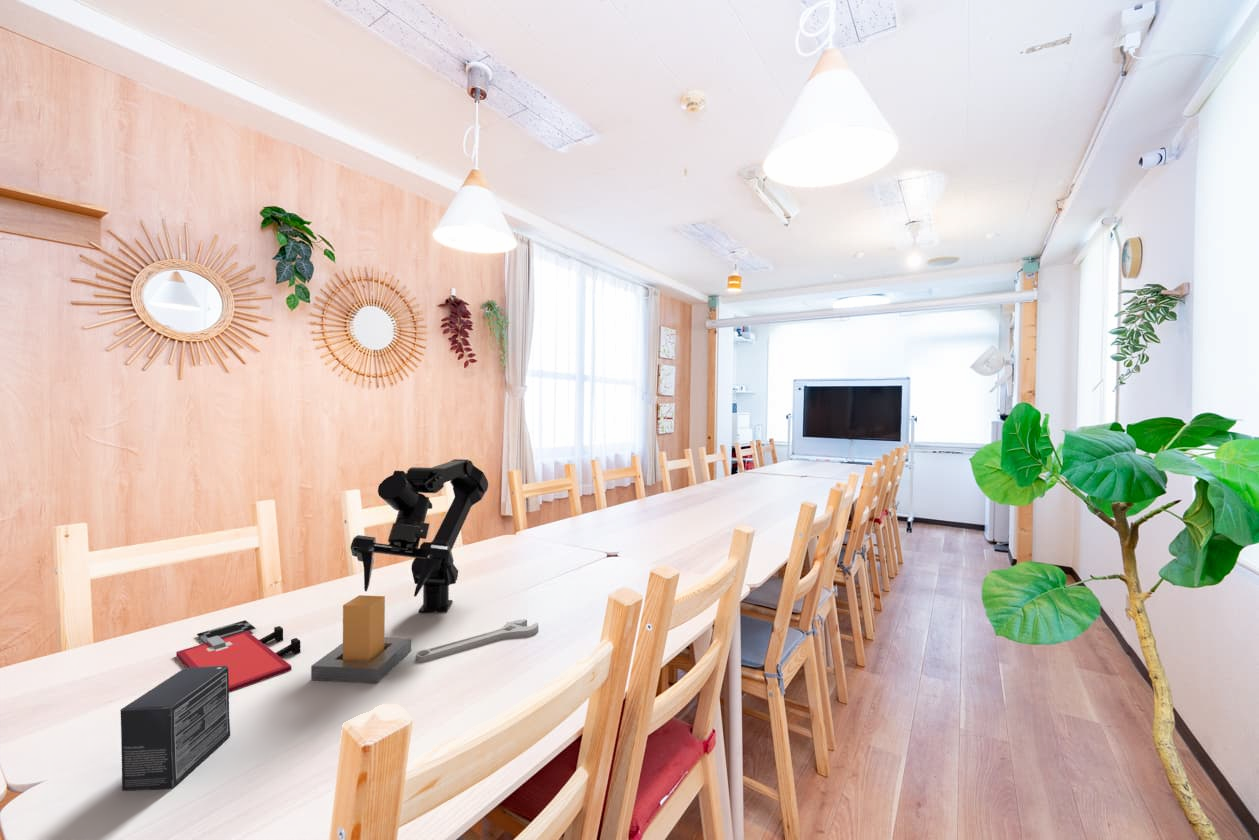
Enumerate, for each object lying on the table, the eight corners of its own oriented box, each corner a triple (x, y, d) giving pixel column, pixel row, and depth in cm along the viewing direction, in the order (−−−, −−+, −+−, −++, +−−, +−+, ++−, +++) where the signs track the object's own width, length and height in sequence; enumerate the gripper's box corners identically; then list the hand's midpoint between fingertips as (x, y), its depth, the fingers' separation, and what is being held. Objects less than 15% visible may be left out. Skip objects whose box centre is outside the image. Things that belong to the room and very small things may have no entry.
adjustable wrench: (417, 666, 96) (417, 656, 96) (410, 652, 101) (410, 643, 101) (541, 634, 110) (541, 626, 110) (529, 623, 115) (529, 615, 115)
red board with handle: (255, 621, 114) (166, 647, 102) (255, 609, 114) (165, 633, 101) (314, 664, 96) (214, 702, 84) (313, 650, 96) (213, 685, 84)
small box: (184, 737, 73) (184, 665, 73) (232, 735, 74) (232, 663, 74) (116, 792, 63) (116, 707, 63) (173, 789, 64) (173, 706, 63)
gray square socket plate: (352, 648, 101) (352, 635, 101) (411, 650, 101) (411, 638, 100) (311, 680, 89) (311, 665, 89) (377, 683, 89) (377, 668, 89)
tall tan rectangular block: (359, 657, 98) (359, 595, 97) (384, 658, 97) (384, 596, 97) (342, 671, 93) (343, 605, 92) (369, 672, 92) (369, 606, 92)
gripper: (361, 497, 102) (334, 576, 93) (458, 512, 107) (441, 587, 98) (364, 518, 110) (340, 592, 101) (454, 531, 115) (438, 602, 107)
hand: (390, 593), depth 102 cm, fingers open, 9 cm apart
